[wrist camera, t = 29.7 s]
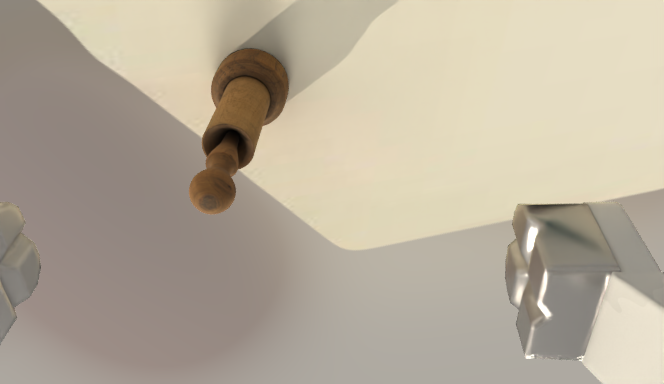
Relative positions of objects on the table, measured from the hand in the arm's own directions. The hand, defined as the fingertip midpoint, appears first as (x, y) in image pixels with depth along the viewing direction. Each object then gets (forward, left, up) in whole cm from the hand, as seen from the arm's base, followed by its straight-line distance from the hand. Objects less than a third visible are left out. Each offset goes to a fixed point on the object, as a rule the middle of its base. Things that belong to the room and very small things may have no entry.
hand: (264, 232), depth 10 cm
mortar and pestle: (+12, -14, -41) cm, 45 cm away
